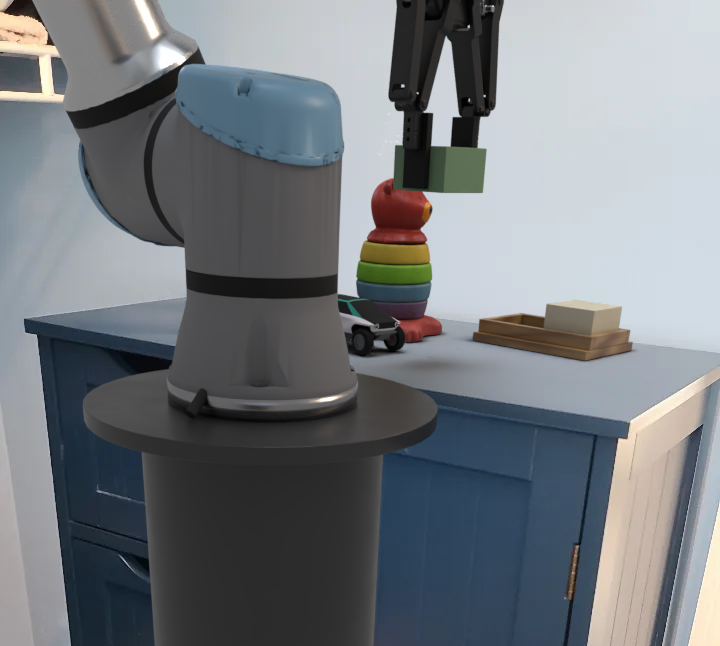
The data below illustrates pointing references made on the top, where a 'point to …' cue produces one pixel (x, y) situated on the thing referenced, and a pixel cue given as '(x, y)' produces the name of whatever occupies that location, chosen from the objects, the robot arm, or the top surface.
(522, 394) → the top surface
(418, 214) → the stacking bear
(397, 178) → the sage block
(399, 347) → the toy car
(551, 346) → the frame
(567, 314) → the beige block
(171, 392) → the robot arm
